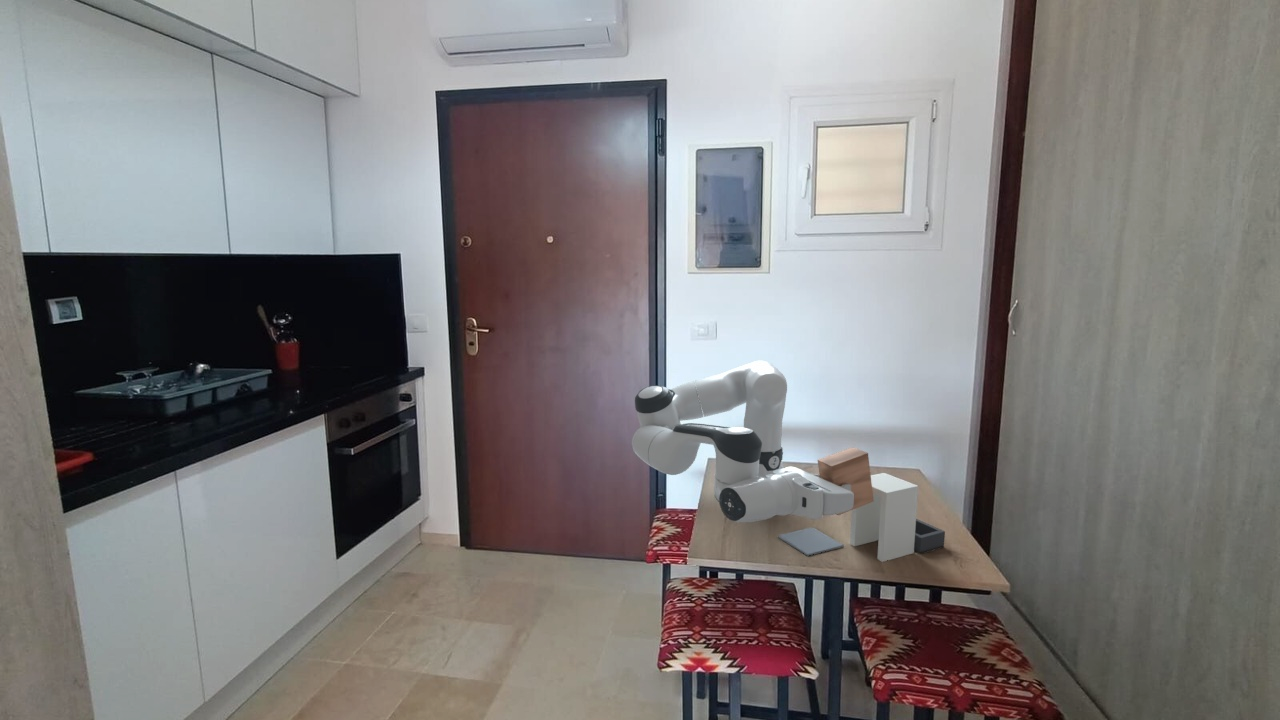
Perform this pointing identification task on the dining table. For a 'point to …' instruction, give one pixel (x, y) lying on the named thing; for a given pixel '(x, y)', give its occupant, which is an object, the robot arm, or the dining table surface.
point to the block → (849, 473)
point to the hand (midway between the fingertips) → (837, 482)
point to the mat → (810, 541)
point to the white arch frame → (887, 517)
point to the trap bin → (927, 537)
